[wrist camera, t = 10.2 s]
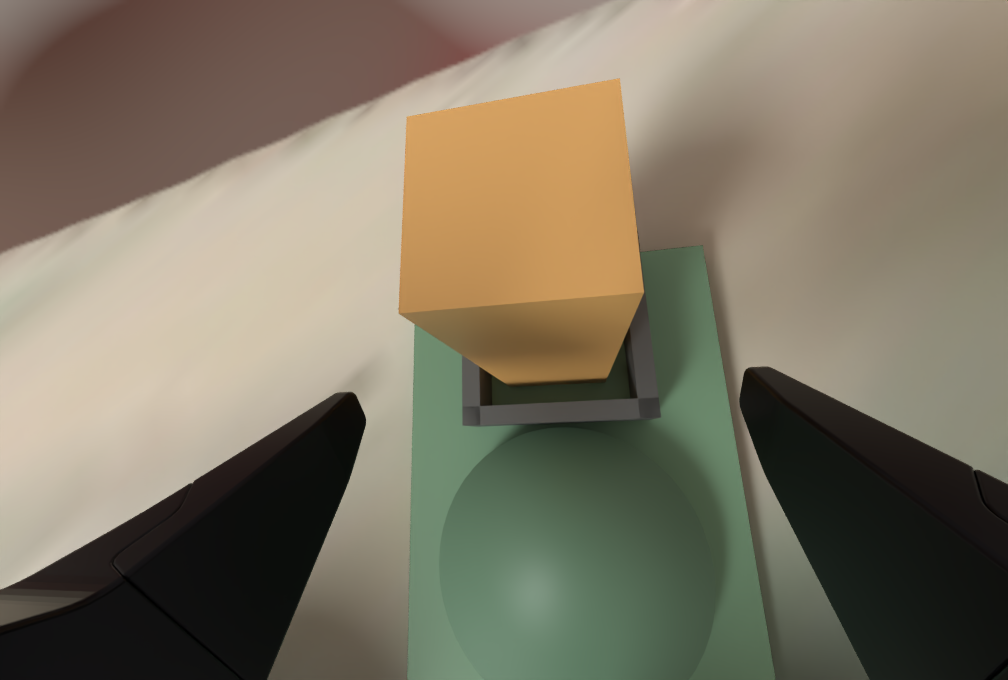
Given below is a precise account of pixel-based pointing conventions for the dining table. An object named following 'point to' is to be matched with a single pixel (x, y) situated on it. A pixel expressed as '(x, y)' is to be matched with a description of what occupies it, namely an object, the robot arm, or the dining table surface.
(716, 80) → the dining table surface
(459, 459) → the green domed base plate
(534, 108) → the chute block
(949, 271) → the dining table surface
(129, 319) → the dining table surface
